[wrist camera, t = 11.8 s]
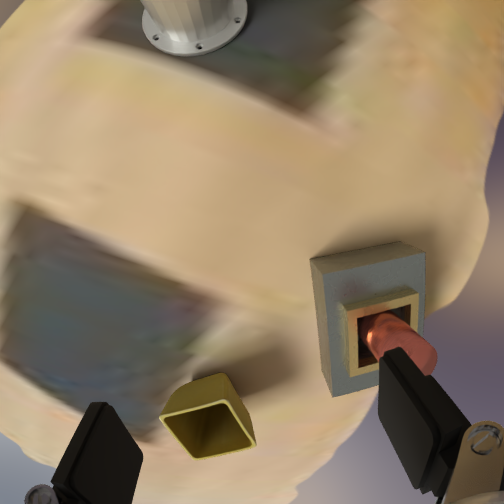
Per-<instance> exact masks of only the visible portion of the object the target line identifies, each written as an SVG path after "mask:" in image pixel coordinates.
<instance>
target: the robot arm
mask: <svg viewBox="0 0 504 504" xmlns="http://www.w3.org/2000/svg"><path fill="white" fill-rule="evenodd" d="M141 2H142V4H143V5H144V7H145V9H144V13H143V16H142V26H143V30H144V33H145V35H146V37H147V38H148V40H149V41H150V42H151V43H152V44H153V45H154V46H155V47H156V48H157V49H159V50H161V51H163V52H165V53H168V54H171V55H176V56H197V55H203V54H206V53H210V52H213V51H215V50H217V49H219V48H221V47H223V46H225V45H226V44H228V43H229V42H231V41H232V40H233V39H234V38H235V37H236V36H237V35H238V34H239V32H240V31H241V30H242V28H243V26H244V24H245V22H246V18H247V2H246V0H141ZM237 22H239V23H237ZM157 39H158V40H157ZM199 48H202V49H200V50H198V49H199ZM378 415H379V419H380V421H381V423H382V425H383V427H384V429H385V431H386V433H387V435H388V436H389V439H390V441H391V443H392V445H393V447H394V449H395V451H396V453H397V455H398V457H399V459H400V461H401V463H402V465H403V467H404V469H405V471H406V473H407V475H408V477H409V479H410V481H411V483H412V485H413V487H414V488H415V489H419V488H420V490H421V492H422V494H425V493H427V492H429V491H431V490H432V492H433V494H434V496H436V497H437V499H436V501H435V504H504V428H503V427H502V426H501V425H500V424H498V423H496V422H492V421H481V422H478V423H475V424H473V425H471V424H470V422H469V421H468V420H467V418H466V417H465V416H464V415H463V413H462V412H461V411H460V410H459V408H458V407H457V406H456V404H455V403H454V402H453V401H452V399H451V398H450V397H449V396H448V394H446V392H445V391H444V390H443V389H442V387H441V386H440V385H439V384H438V382H437V381H436V380H435V379H434V378H433V377H432V376H431V375H426V376H425V375H424V374H423V373H422V372H421V370H420V369H419V368H418V367H417V365H416V364H415V363H414V362H413V360H412V359H411V358H410V357H409V356H408V354H407V353H406V352H405V351H404V350H403V348H402V347H396V348H394V349H391V350H388V351H385V352H384V354H383V357H380V358H379V396H378ZM142 462H143V453H142V451H141V449H140V448H139V447H138V445H137V444H136V442H135V441H134V439H133V438H132V436H131V435H130V433H129V432H128V430H127V429H126V427H125V426H124V424H123V423H122V421H121V419H120V418H119V416H118V415H117V413H116V411H115V410H114V408H113V407H112V406H110V405H109V404H108V403H107V402H92V403H91V404H90V405H89V407H88V409H87V410H86V412H85V414H84V416H83V418H82V420H81V422H80V424H79V426H78V427H77V429H76V431H75V433H74V435H73V437H72V439H71V441H70V443H69V445H68V447H67V449H66V451H65V453H64V455H63V457H62V459H61V461H60V463H59V465H58V467H57V469H56V471H55V473H54V476H53V478H52V480H51V483H52V484H53V485H54V486H53V488H51V487H50V486H48V485H45V484H40V485H36V486H34V487H32V488H31V489H30V490H29V491H28V492H27V494H26V496H25V500H24V502H25V504H132V500H133V496H134V492H135V488H136V484H137V480H138V477H139V473H140V469H141V465H142Z"/></svg>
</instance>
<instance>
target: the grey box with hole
mask: <svg viewBox="0 0 504 504" xmlns="http://www.w3.org/2000/svg"><path fill="white" fill-rule="evenodd" d="M310 266H311V273H312V281H313V289H314V298H315V306H316V315H317V325H318V335H319V345H320V355H321V367H322V372H323V375H324V377H325V380H326V382H327V385H328V387H329V390H330V392H331V395H332V397H337V396H341V395H345V394H349V393H352V392H356V391H360V390H363V389H367V388H370V387H374V386H377V385H379V361H378V360H377V359H376V357H375V356H374V355H373V353H372V352H371V351H370V350H369V348H368V347H367V346H366V344H365V343H364V342H363V340H362V339H361V338H360V337H359V335H358V334H357V318H359V317H363V316H367V315H371V314H375V313H379V312H383V311H387V310H390V309H391V310H392V311H393V312H394V313H395V314H396V315H398V316H399V317H400V318H401V319H402V320H403V321H404V322H406V323H407V324H408V325H409V326H410V327H411V328H412V329H414V330H415V331H416V332H417V333H418V334H419V335H420V336H421V337H423V329H424V311H425V252H423V251H421V250H419V249H417V248H414V247H412V246H410V245H408V244H405V243H403V242H401V241H399V242H394V243H389V244H384V245H379V246H374V247H369V248H364V249H359V250H354V251H349V252H344V253H339V254H334V255H328V256H323V257H318V258H313V259H310Z"/></svg>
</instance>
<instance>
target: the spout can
mask: <svg viewBox="0 0 504 504" xmlns="http://www.w3.org/2000/svg"><path fill="white" fill-rule="evenodd" d="M357 334H358V335H359V337H360V338H361V339H362V340H363V342H364V343H365V344H366V346H367V347H368V348H369V350H370V351H371V352H372V353H373V355H374V356H375V357H376V359H377V360H378V361H379V358H380V357H383V354H384V352H385V351H388V350H391V349H394V348H396V347H402V348H403V350H404V351H405V352H406V353H407V354H408V356H409V357H410V358H411V359H412V360H413V362H414V363H415V364H416V365H417V367H418V368H419V369H420V370H421V372H422V373H423V374H424V375H425V376H426V375H431V373H432V372H433V370H434V368H435V366H436V363H437V352H436V350H435V348H434V347H432V346H431V345H430V344H429V343H428V342H427V341H426V340H425V339H424V338H423V337H421V336H420V335H419V334H418V333H417V332H416V331H415V330H414V329H412V328H411V327H410V326H409V325H408V324H407V323H406V322H404V321H403V320H402V319H401V318H400V317H399V316H398V315H396V314H395V313H394V312H393V311H392V310H391V309H390V310H387V311H383V312H379V313H375V314H371V315H367V316H363V317H359V318H357Z"/></svg>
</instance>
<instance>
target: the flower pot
mask: <svg viewBox="0 0 504 504" xmlns="http://www.w3.org/2000/svg"><path fill="white" fill-rule="evenodd" d="M159 418H160V420H161V422H162V423H163V424H164V426H165V427H166V428H167V430H168V431H169V432H170V433H171V434H172V436H173V437H174V438H175V439H176V441H177V442H178V443H179V444H180V445H181V447H182V448H183V449H184V450H185V451H186V453H187V454H188V455H189V456H190V457H191V458H192V459H193V460H203V459H208V458H212V457H217V456H222V455H226V454H230V453H235V452H239V451H244V450H247V449H251V448H253V447H255V446H256V445H257V444H256V440H255V435H254V431H253V426H252V421H251V418H250V415H249V413H248V411H247V409H246V407H245V406H244V404H243V402H242V401H241V399H240V397H239V396H238V394H237V392H236V391H235V389H234V387H233V385H232V384H231V382H230V380H229V378H228V376H227V375H226V374H225V373H217V374H214V375H211V376H208V377H205V378H201V379H198V380H194V381H191V382H189V383H187V384H185V385H183V386H181V387H180V388H178V389H177V390H176V391H175V392H174V393H173V394H172V395H171V397H170V398H169V400H168V402H167V404H166V406H165V407H164V409H163V411H162V413H161V415H160V416H159Z"/></svg>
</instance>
